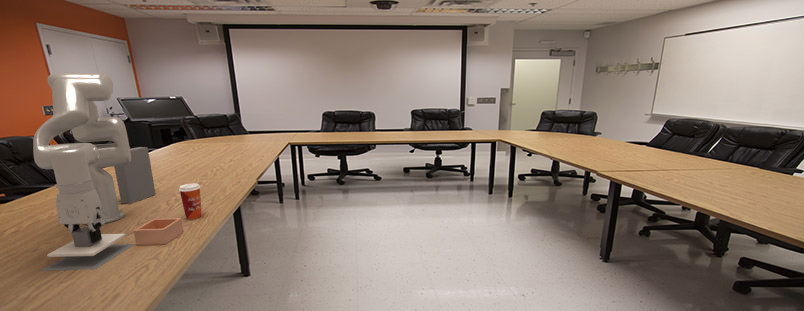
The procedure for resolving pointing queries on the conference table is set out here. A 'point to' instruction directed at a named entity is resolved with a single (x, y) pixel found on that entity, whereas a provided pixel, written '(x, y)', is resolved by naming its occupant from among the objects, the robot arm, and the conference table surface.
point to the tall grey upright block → (135, 177)
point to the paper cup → (191, 200)
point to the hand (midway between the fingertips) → (88, 240)
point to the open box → (158, 231)
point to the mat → (88, 259)
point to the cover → (85, 244)
